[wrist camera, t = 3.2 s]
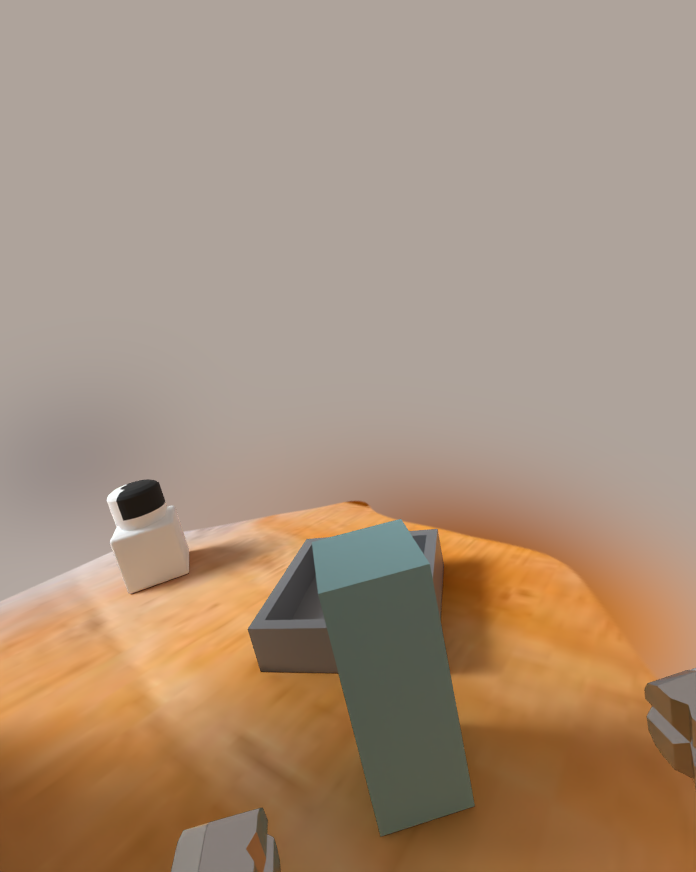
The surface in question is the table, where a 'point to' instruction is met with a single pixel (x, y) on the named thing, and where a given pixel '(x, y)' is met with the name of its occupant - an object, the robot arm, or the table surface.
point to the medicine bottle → (146, 536)
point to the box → (313, 613)
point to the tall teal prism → (394, 673)
